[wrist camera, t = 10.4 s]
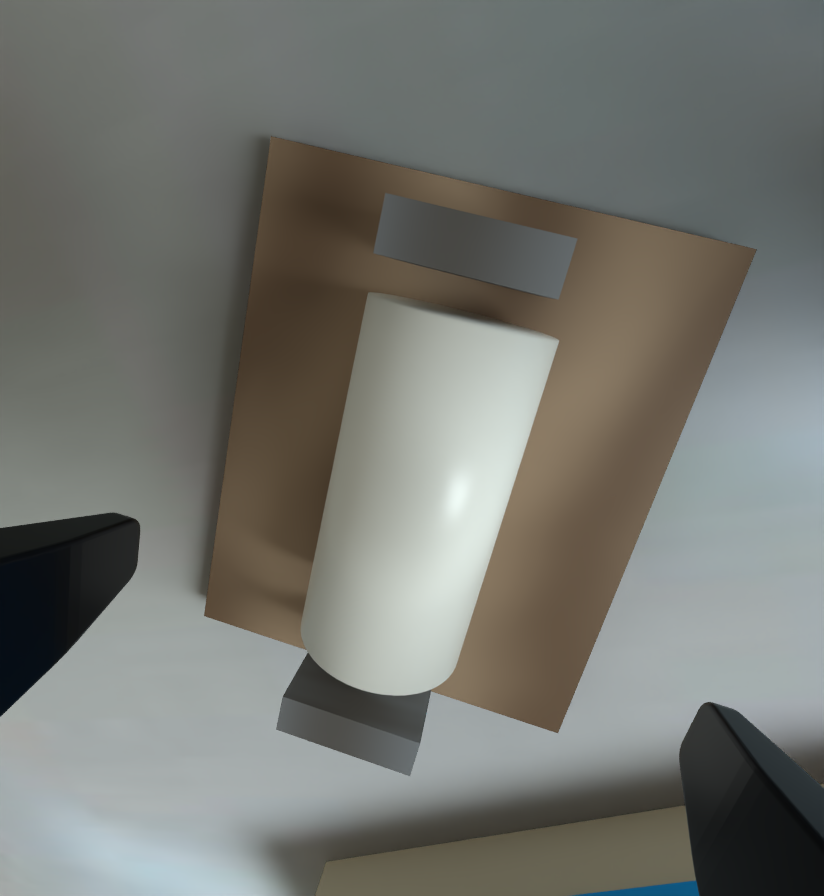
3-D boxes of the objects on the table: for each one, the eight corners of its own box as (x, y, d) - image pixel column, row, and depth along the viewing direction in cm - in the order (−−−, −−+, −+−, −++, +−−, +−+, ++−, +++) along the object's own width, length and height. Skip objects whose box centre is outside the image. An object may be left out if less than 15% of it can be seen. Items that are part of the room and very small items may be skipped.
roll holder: (742, 251, 16) (872, 229, 10) (555, 712, 21) (571, 870, 15) (284, 145, 17) (169, 71, 11) (217, 602, 22) (115, 708, 17)
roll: (553, 333, 16) (567, 349, 11) (465, 614, 19) (447, 719, 14) (392, 292, 17) (342, 291, 12) (331, 571, 20) (272, 659, 15)
